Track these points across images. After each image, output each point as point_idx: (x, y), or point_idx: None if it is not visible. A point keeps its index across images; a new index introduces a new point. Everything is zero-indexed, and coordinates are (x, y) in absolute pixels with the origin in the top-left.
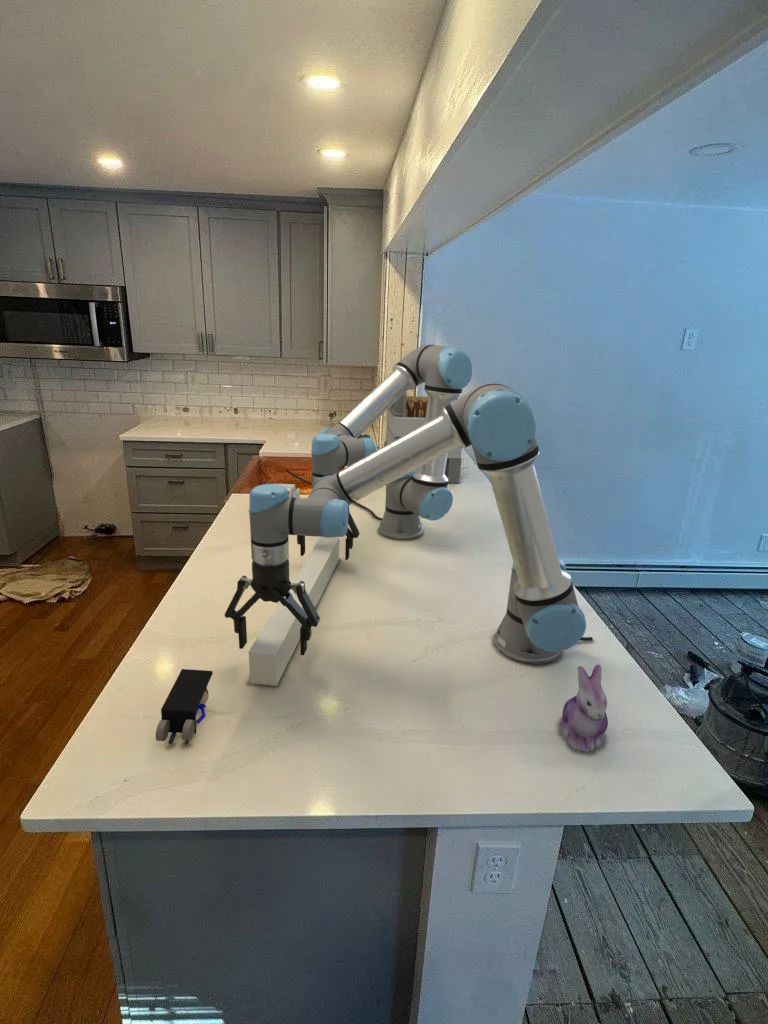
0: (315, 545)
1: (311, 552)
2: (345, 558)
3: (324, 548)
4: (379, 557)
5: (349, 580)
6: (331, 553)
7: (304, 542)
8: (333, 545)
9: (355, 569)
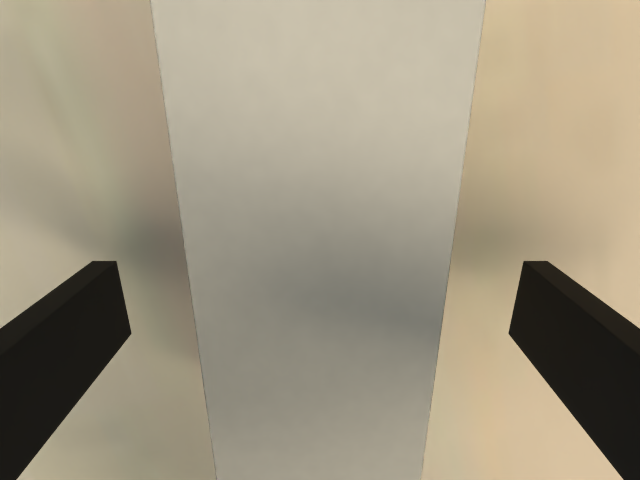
0: (436, 348)
1: (461, 117)
2: (107, 267)
3: (304, 290)
4: (43, 449)
5: (87, 98)
6: (183, 192)
7: (581, 393)
8: (221, 387)
9: None
